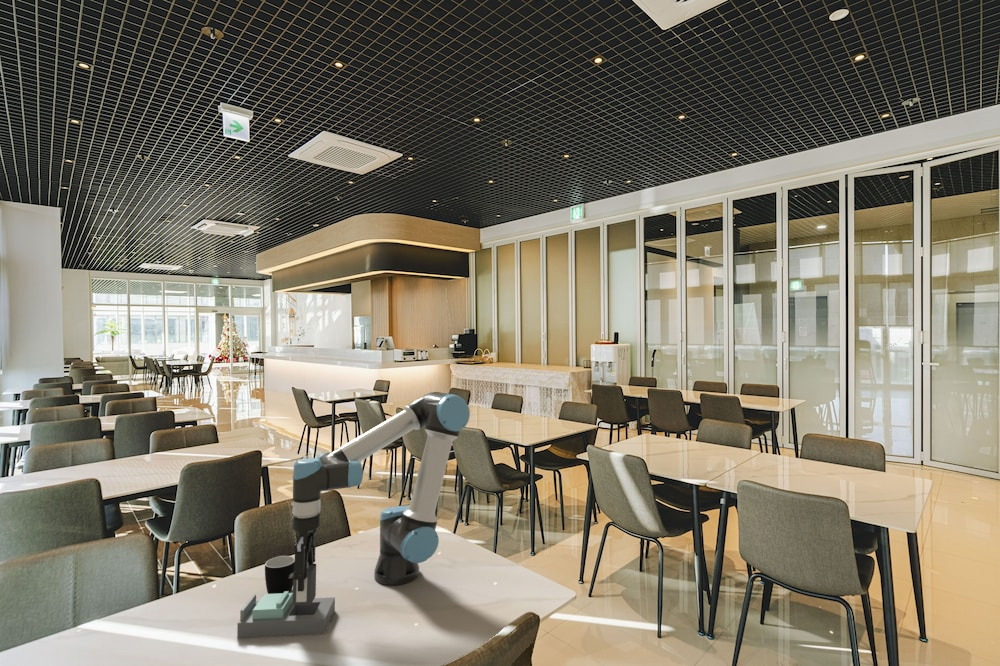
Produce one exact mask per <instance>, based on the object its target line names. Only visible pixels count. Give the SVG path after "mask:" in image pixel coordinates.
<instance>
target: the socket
mask: <svg viewBox="0 0 1000 666" xmlns="http://www.w3.org/2000/svg"><path fill="white" fill-rule="evenodd" d="M259 601H260V600H257V594H256V593H255V594H254V593H253V594H252V595H251V596H250V598H249V599H248V600H247V601H246V603H245V604H244V606H243V607H242V608H241V609H240V613H239V614H240V615H239V616H240V617H239V620H238V622H237V628H236V631H237V633H236V636H237V637H236V638H237V639H248V638H266V637H267V638H268V637H269V638H270V637H283V636H284V637H285V636H287V637H288V636H302V635H303V636H305V635H309V636H310V635H322V634H323V635H325V634H326V632H327V629H328V627H329V625H330V623H331V621H332V618H333V616H334V614H335V612H336V597H335V596H334V597H332V596H331V597H315V598H314V600H313V602H312V604H311V605H293V606H292V604H293V602H292V604H291V605H290V607H289V609H288V610H287V612H286V613H285V615H284V617H283V618H270V619H252V616H253V609H254V608H255V606H256V605H257V604H258V602H259Z"/></svg>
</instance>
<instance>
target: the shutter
mask: <svg viewBox="0 0 1000 666" xmlns="http://www.w3.org/2000/svg"><path fill="white" fill-rule="evenodd" d="M258 601H259V602H258V604H257V605H256V606H255V608H254V609H253V616H252V619H270V618H283V617H284V615H285V613H286V612H287V610H288V609H289V607H290V605H291V604H292V602H293V592H290V593H289V591H284V593H278V594H268V593H265V594H263V596H262V597H261V598H260V599H259V600H258Z"/></svg>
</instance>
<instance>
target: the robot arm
mask: <svg viewBox="0 0 1000 666" xmlns="http://www.w3.org/2000/svg"><path fill="white" fill-rule="evenodd" d="M470 414H471V413H470V407H469V404H468V403H467V401H466V400H465V399H464V398H463V397H462V396H459V395H456V394H454V393H445V392H441V391H440V392H439V391H433V392H429V393H426V394H424V395H422V396H420V397H418V398H415V400H413V401H411V402H410V403H408V404H406V405H405V406H404V407H403V409H402V410H401V411H400V412H398V413H396V414H395V415H393V416H392V417H390V418H388V419H387V420H384V421H383V422H381V423H380V424H378V425H376V426H375V427H373V428H371V429H369V430H367V431H366V432H365V433H363V434H360V435H359V436H358V437H355V438H354V439H352V440H351V441H349V442H347V443H345V444H343V446H340V447H339V448H336V449H335V450H333V451H331V452H324V453H321V454H320V455H318V456H317V457H316V458H315V457H311V458H309V457H307V458H302V459H297V460H296V461H295V462H294V463H293V473H292V502H291V503H290V506H291V507H292V517H291V518H292V519H291V529H292V530H293V531H295V532H298V535H297V537H296V543H295V544H294V546H293V547H294V548H293V549H294V558H295V565H294V577H293V579H294V580H297V586H296V602H306V601H307V577H306V572H307V562H308V565H316V566H317V563H315V562H316V542H317V541H316V539H317V537H316V536H317V529H319V527H320V525H321V514H320V512H321V496H322V495H321V492H325V491H326V492H327V491H333V490H341V489H347V488H348V489H350V488H355V487H358V486H360V485H361V483H362V481H363V477H364V473H363V472H364V471H363V466H362V464H361V462H362V461H364V460H366V459H367V458H369V457H370V456H373V455H374V454H375V453H377V452H379V451H381V450H382V449H384V448H385V447H387V446H388V445H390V444H392V443H393V442H395V441H397V440H399V439H400V438H401V437H403V436H405V435H407V434H408V433H410V432H412V431H413V430H414V431H418V430H420V429H422V428H424V431H425V433H426V434H427V437H426V441H425V444H424V449H423V452H422V457H421V459H420V464H419V468H418V471H417V476H416V480H415V483H414V488H413V490H412V496H411V500H410V502H409V505H397V506H391V507H388V508H385V509H383V510H381V512H380V516H379V518H380V519H379V554H378V555H379V556H378V559H377V562H376V565H375V568H374V580H375V581H376V582H377V583H379V584H381V585H386V586H398V585H404V584H407V583H411V582H412V581H414V580H416V579H418V577H419V574H420V565H419V564H421V563H424V562H426V561H427V560H429V559H430V558H431V557H433V555H434V554H435V552H437V549H438V547H439V542H440V541H439V535H438V533H437V531H436V528H437V525H438V517H437V516H436V513H435V512H436V510H437V505H438V501H439V496H440V493H441V489H442V485H443V481H444V478H445V473H446V469H447V465H448V460H449V458H450V452H451V449H452V445H453V442H454V441H456V439H458V438H459V435H460V431H461V430H462V429H464V428H465V427H466V426H467V425H468V423H469V420H470V418H471V416H470Z"/></svg>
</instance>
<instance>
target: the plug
mask: <svg viewBox="0 0 1000 666" xmlns="http://www.w3.org/2000/svg"><path fill="white" fill-rule="evenodd" d="M293 577H294V573H293ZM306 577H307V601H306V602H296V586H297V580H294V579H293V587H292V593H293V604H292V606H293V605H311V604H312V602H313V600H314V598H316V594H317V592H316V591H317V589H316V588H317V564H316V565H308V562H307V572H306Z"/></svg>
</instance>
